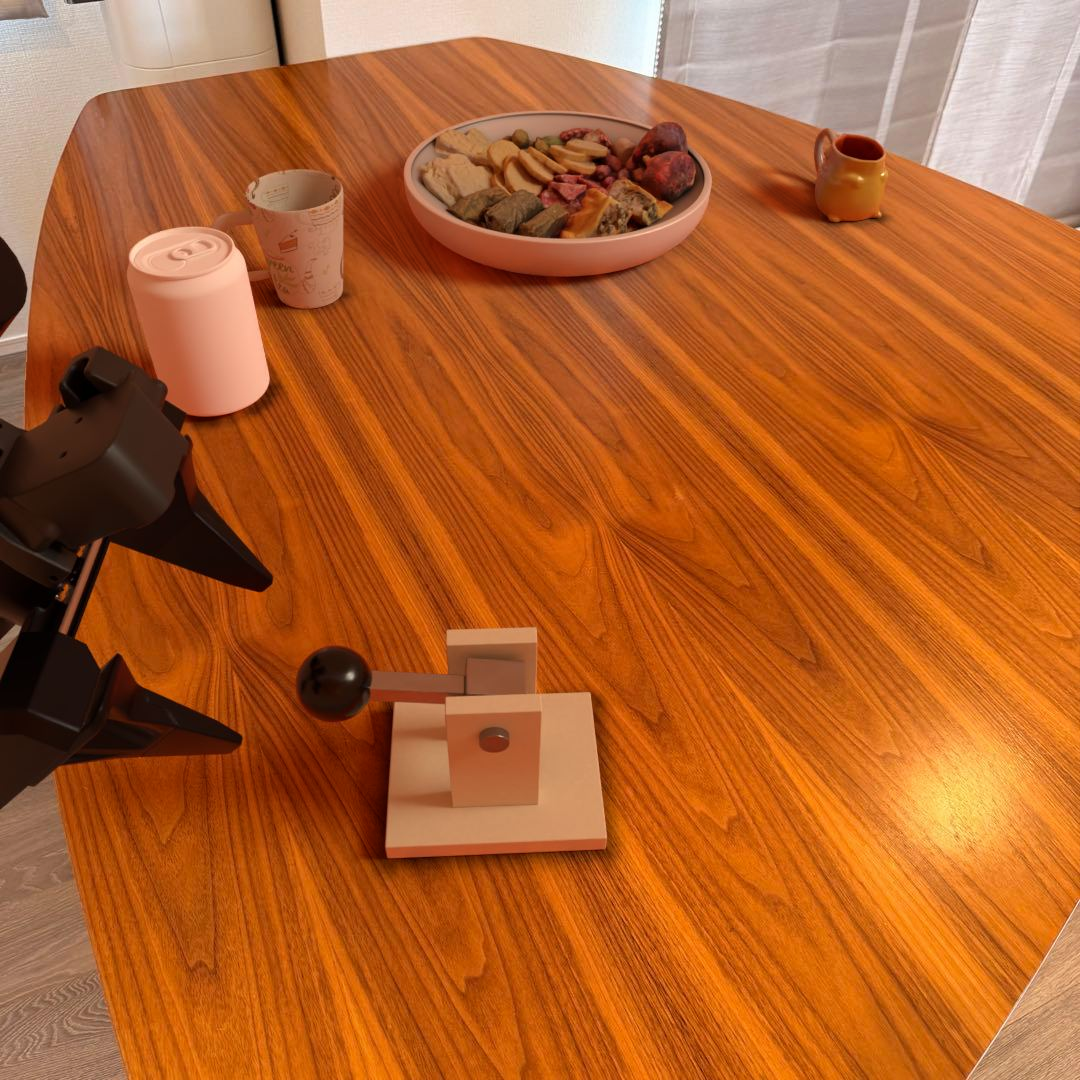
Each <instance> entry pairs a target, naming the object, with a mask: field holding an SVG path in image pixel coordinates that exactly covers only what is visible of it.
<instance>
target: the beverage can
mask: <svg viewBox="0 0 1080 1080" xmlns="http://www.w3.org/2000/svg"><path fill="white" fill-rule="evenodd" d="M128 262H129V263H128V265H127V270H126V281H127V284H128V287H129V290H130V293H131V297H132V300H133V303H134V306H135V310H136V313H137V316H138V320H139V323H140V327H141V329H142V333H143V336H144V339H145V342H146V345H147V348H148V352H149V355H150V358H151V361H152V365H153V368H154V371H155V374H156V375H155V376H156V379H158V380H161V381H162V382H164V383H165V384H166V386H167V388H168V393H167V396H166V399H165V400H166V401H168V402H170V403H171V404H173V405H174V406H176V407H178V408H179V409H181V410H182V411H184V412H186V413H187V414H186V415H189V416H195V417H218V416H219V417H220V416H223V415H228V414H232V413H236V412H239V411H241V410H244V409H245V408H247V407H250V406H251V405H252V404H254V403H256V402H257V401H258V400H259V399H260V398H262V396H264V394H265V393H266V391H267V390H268V387H269V385H270V380H271V379H270V372H269V367H268V361H267V358H266V354H265V350H264V343H263V339H262V334H261V330H260V325H259V320H258V316H257V311H256V306H255V301H254V297H253V292H252V287H251V283H250V282H251V281H249V277H248V272H249V271H248V269H247V264H246V259H245V257H244V256H243V254H242V252H241V251H240V250H239V249H238V248H237V247H236V245H235V242H234V240H233V238H232V237H231V236H230V235H228V234H227V233H226V232H225V233H223V232H221V231H219V230H215V229H211V228H210V227H207V226H206V227H205V226H180V227H173V228H168V229H164V230H161V231H157V232H154V233H152V234H149V235H147V236H146V237H144V238H142V239H140V240H139V241H137V242H136V243H135V244H134V245H132V247H131V248H130V250H129V253H128Z"/></svg>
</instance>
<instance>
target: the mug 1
mask: <svg viewBox="0 0 1080 1080" xmlns="http://www.w3.org/2000/svg"><path fill="white" fill-rule="evenodd" d="M244 197H245V203H246V207H247V209H243V210H236V211H235V210H234V211H229V212H226V213H225V212H224V213H222V214H220V215H219V216H217V217H216V218H215V219H214V221H213V222H212V223H211V224H210V226H209V228H211V229H215V230H219V231H221V232H223V233H225V234H226V232H227V231H228V230H229V229H231V228H233V227H237V226H238V227H239V226H250V225H253V226H254V230H255V232H256V236H257V239H258V242H259V244H260V247H261V251H262V254H263V256H264V259H265V262H266V265H267V268H268V269H261V270H260V269H259V270H253V271H252V270H251V271H247V272H248V277H249V282H257V281H262V280H267V279H272V283H273V286H274V288H275V291H276V294H277V296H278V299H279V301H281V302H282V303H283V304H285V305H286V306H288V307H291V308H295V309H302V310H303V309H304V310H306V309H309V310H311V309H317V308H322V307H323V308H324V307H326V306H328V305H331V304H332V303H333V304H334V302H336V301H337V300H339V298H340V297H342V294H343V291H344V188H343V185H342V183H341V181H340V180H339V179H338V178H337V177H335V176H334V175H332V174H330V173H327V172H323V171H320V170H315V169H299V168H297V169H287V170H280V171H275V172H271V173H267V174H264V175H263V176H260V177H258V178H256V179H255V180H253V181H251V183H249V185H248V186H247V187H246V188H245V191H244Z"/></svg>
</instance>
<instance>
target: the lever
mask: <svg viewBox="0 0 1080 1080" xmlns="http://www.w3.org/2000/svg"><path fill="white" fill-rule="evenodd" d="M294 684H295V685H294V688H295V695H296V698H297V700H298V703H299V705H300V706H301V707H302V708H303V710H304V711H305V712H306V713H307V714H308V715H310V717H312V718H313V719H316V720H318V721H321V722H325V723H331V724H332V723H333V724H334V723H341V722H346V721H349V720H350V719H353V718H354V717H355V716H356V717H357V715H359V714H360V713H361V712H362V711H363V710H364V709H365V708H366V706H367V705H368V703H369V702H386V703H388V702H389V703H394V702H405V703H425V704H445V697H455V696H485V695H515V694H526V685H525V667H524V661H523V660H505V659H488V658H470V657H468V658H467V659H466V665H465V671H464V675H449V674H448V673H447V674H446V673H430V672H429V673H427V672H411V671H409V672H408V671H392V670H391V671H390V670H373V669H372V668H371V666H370V664H369V663H368V661H367V659H366V658H365V657H364V656H363V655H362V654H361V653H360V652H358V651H356V650H355V649H353V648H351V647H349V646H344V645H339V644H333V645H332V644H331V645H326V646H322V647H320V648H318V649H316V650H313V652H311V653H310V654H309V655H308V656H306V657H305V658H304V660H303V661H302V662H301V664H300V666H299V668H298V669H297V672H296V675H295V683H294Z"/></svg>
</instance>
